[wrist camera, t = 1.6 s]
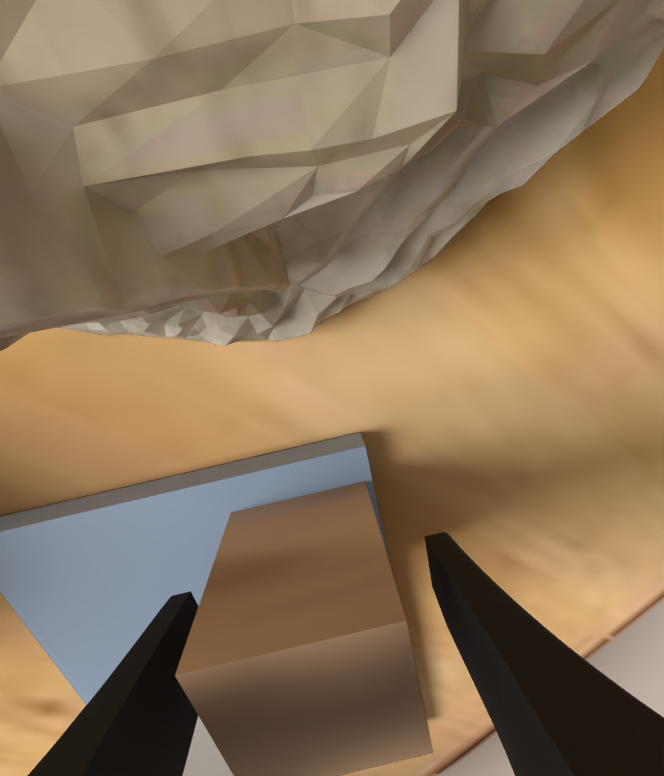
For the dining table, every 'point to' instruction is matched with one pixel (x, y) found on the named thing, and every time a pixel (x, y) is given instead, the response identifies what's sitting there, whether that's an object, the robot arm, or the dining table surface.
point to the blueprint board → (145, 549)
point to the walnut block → (305, 643)
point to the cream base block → (204, 755)
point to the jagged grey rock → (275, 147)
